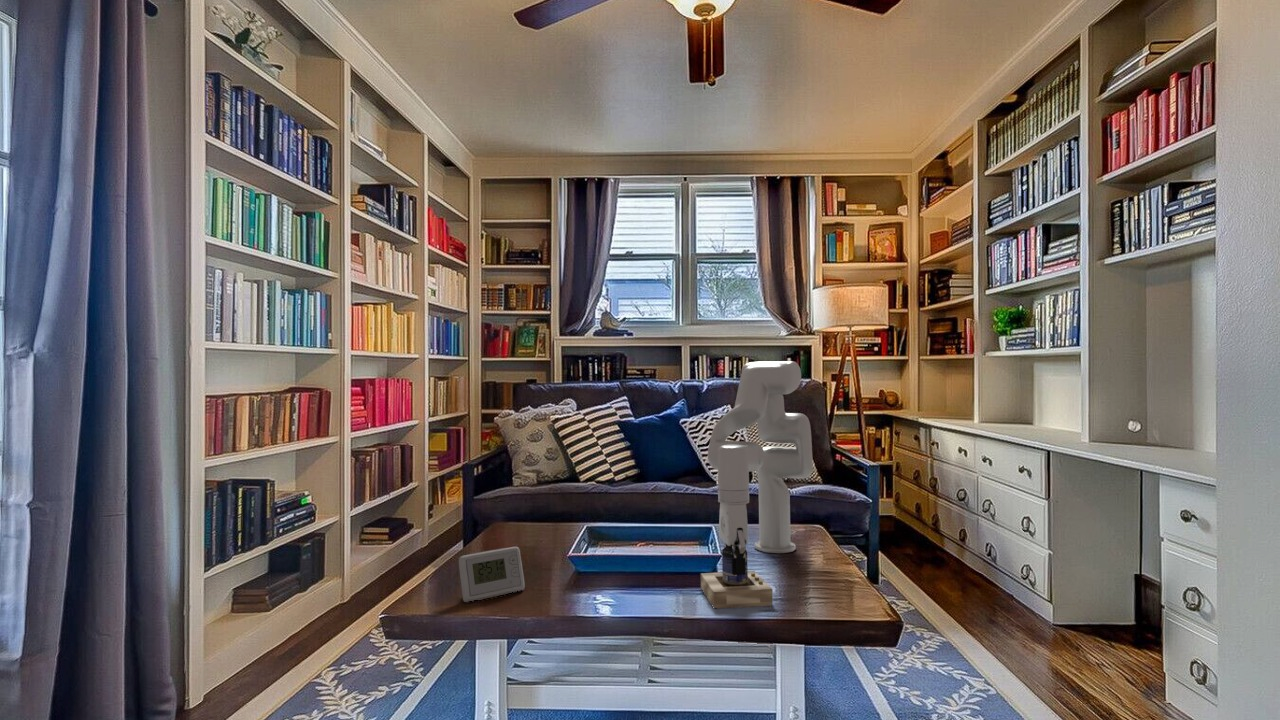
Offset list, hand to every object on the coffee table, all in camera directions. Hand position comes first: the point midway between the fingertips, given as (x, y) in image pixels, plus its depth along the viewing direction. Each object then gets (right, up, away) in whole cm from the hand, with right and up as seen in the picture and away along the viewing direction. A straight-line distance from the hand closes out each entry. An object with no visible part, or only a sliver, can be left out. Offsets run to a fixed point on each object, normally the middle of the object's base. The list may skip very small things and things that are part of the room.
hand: (734, 569), depth 151 cm
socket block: (0, -7, 0) cm, 7 cm away
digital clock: (-60, -8, +3) cm, 60 cm away
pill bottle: (0, -4, 0) cm, 4 cm away
